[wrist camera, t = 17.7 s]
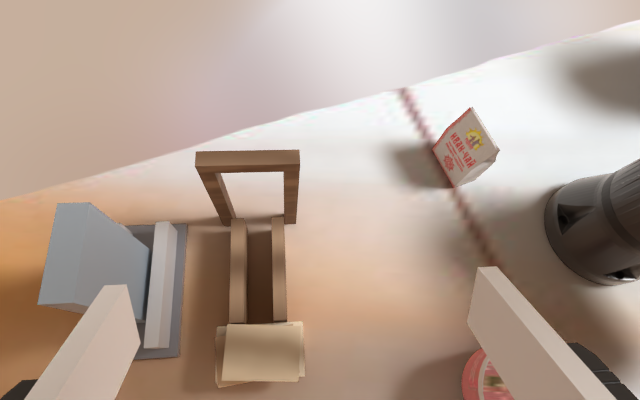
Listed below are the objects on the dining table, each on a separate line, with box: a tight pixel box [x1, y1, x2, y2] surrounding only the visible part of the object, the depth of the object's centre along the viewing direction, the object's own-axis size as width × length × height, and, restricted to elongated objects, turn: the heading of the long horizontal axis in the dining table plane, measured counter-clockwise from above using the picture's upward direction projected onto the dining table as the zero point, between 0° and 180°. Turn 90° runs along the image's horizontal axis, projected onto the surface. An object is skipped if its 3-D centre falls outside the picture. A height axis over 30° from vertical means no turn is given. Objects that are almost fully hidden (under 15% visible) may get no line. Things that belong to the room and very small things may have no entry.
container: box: [462, 348, 514, 400], centre depth 43 cm, size 10×10×8 cm
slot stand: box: [117, 221, 188, 360], centre depth 45 cm, size 16×9×5 cm, turn 4°
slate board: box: [37, 202, 153, 323], centre depth 38 cm, size 8×2×18 cm, turn 4°
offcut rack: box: [195, 150, 305, 388], centre depth 40 cm, size 21×10×18 cm, turn 4°
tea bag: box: [432, 107, 500, 188], centre depth 53 cm, size 4×7×10 cm, turn 22°
